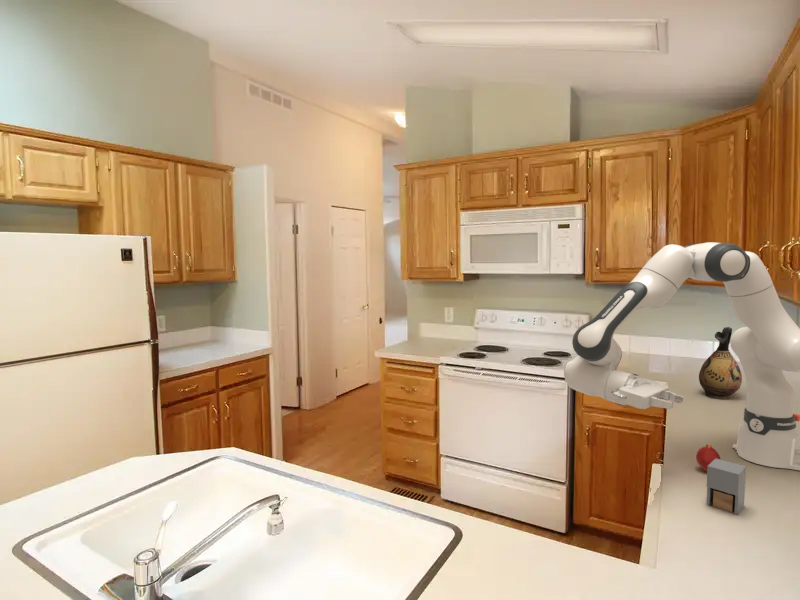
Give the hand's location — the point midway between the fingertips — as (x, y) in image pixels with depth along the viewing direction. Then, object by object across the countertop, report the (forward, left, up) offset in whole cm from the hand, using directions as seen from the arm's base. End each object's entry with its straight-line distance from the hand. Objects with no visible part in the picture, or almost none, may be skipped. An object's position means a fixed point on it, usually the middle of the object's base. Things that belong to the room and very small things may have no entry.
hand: (677, 403), depth 125 cm
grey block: (-3, +11, -23) cm, 26 cm away
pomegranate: (-18, -3, -23) cm, 30 cm away
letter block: (-3, +11, -23) cm, 26 cm away
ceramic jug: (-95, -48, -23) cm, 109 cm away
